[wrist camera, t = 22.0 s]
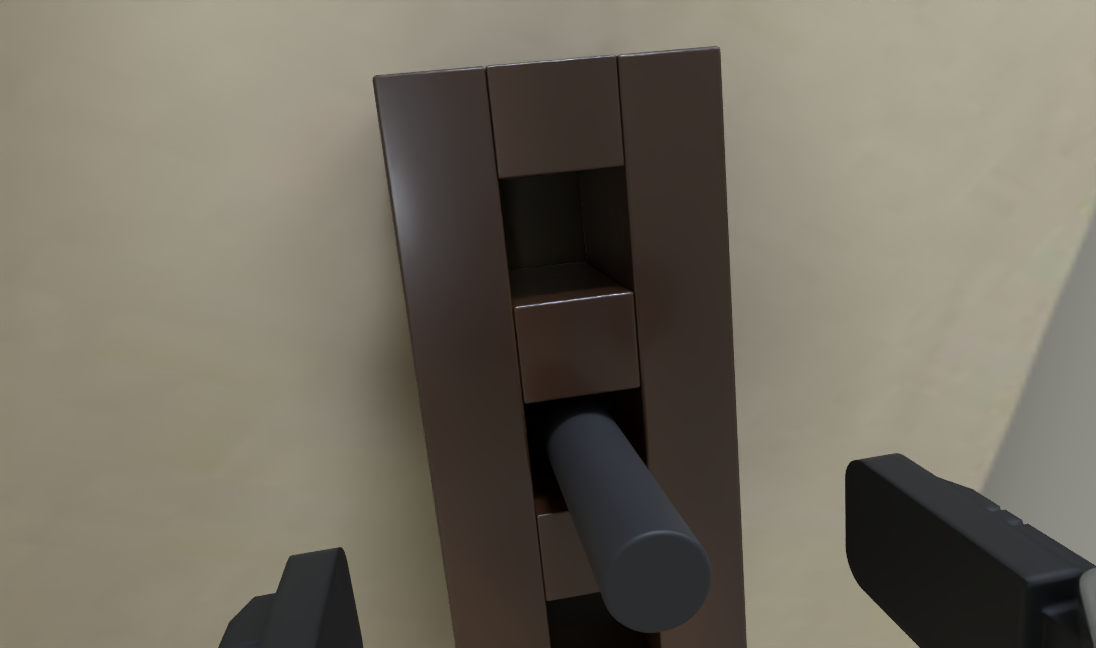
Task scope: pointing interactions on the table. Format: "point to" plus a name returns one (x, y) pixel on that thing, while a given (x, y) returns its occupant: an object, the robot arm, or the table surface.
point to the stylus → (623, 518)
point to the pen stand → (568, 325)
